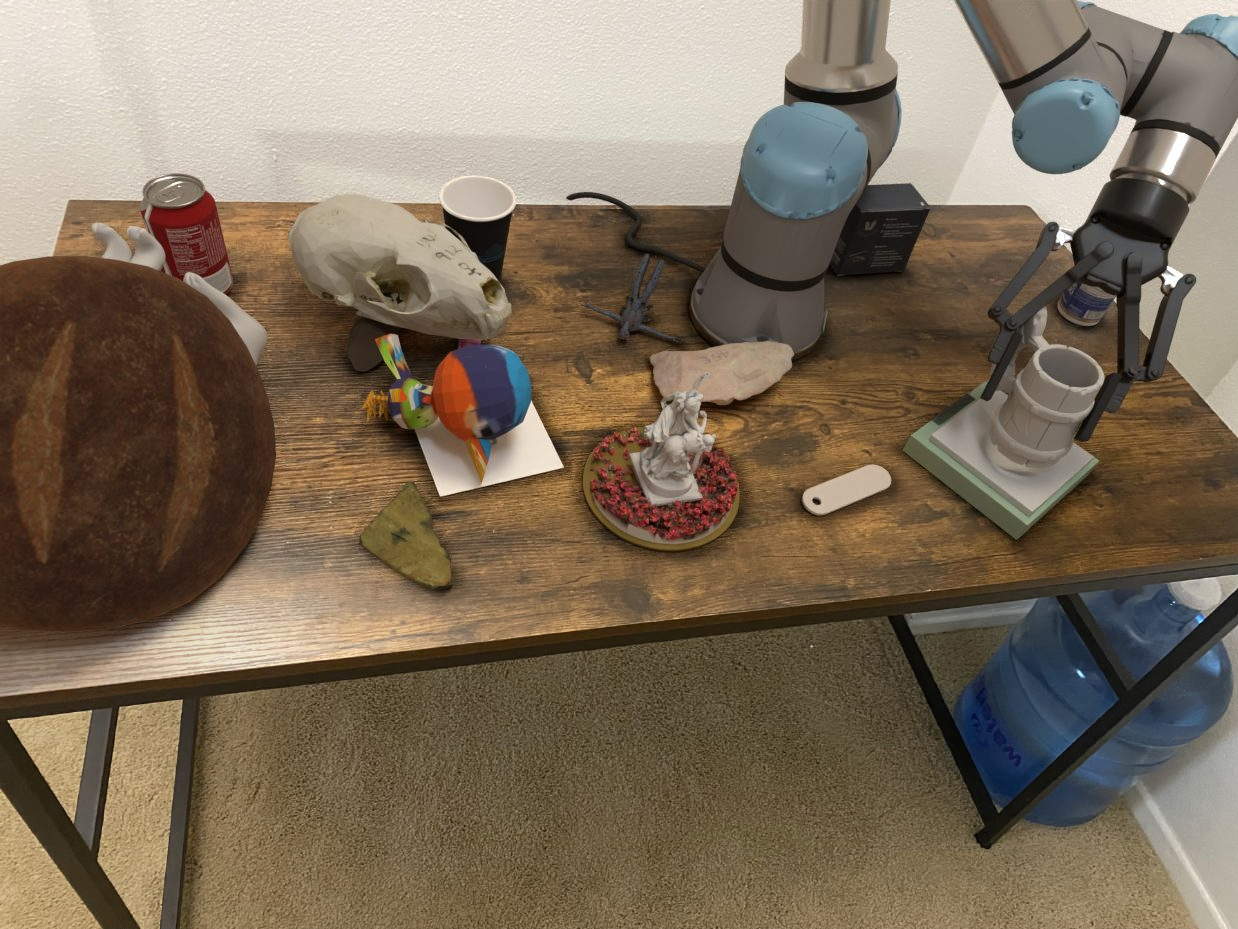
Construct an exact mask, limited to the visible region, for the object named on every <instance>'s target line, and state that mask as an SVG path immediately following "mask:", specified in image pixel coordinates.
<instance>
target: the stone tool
mask: <svg viewBox="0 0 1238 929" xmlns="http://www.w3.org/2000/svg"><path fill="white" fill-rule="evenodd" d="M793 356H794V352H793V351H792V348H791V347H790V346H789V345H787V344H782V343H777V342H770V341H765V342H755V343H754V342H751V343H750V342H744V343H732V344H725V345H721V346H717V347H715V346H713V347H708V348H705V349H701V350H673V351H671V350H663V351H661V352H658V353H653V354H651V356H650V357H649V362H650V364H651V366H653V370H652V374H653V381H654V385H655V386H656V387H657V388H658V391H659V392H660V395H661V396H662V398H664V397H666V396H670V395H672V394H673V393H675V392H681V393H683V392H685V391H689V390H690V389H691V388H692V387H693V384H694V382H695V381H696V380H697V379H698V378H699V377H701V375H702V374H703V373H707V372H709V373H708V376H711V377H709V378H706V379H704V378H703V379H702V381H701V383H700V385H699V387H698V389H697V390H696V391H697V392H698V393H699V394H703V399H701V401H700V402H701V403H705V402H706V403H707V402H709V403H712V404H716V405H717V406H726V405H730V404H731V403H732V402H733V401H734V400H737V401H744V400H748V399H749V398H751V397H752V396H756V395H759V394H762V393H764V392H765V391H767V390H768V389H769V388H770V387H772V386H773V385H775V384H777V383H780V381H781V378H782V377H783V376H784V375H785V374H786V373H788V372H789V371H790V370H791V369H792V367H793V363H792V361H791V358H792V357H793Z"/></svg>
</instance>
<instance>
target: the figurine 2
mask: <svg viewBox="0 0 1238 929" xmlns="http://www.w3.org/2000/svg"><path fill="white" fill-rule="evenodd" d="M655 258H657V256H655ZM650 259H651V256H650V254H649V253H646V254H644V256H643V258H642V260H641V262H640V265H639V267H638V269H637V272H636V274H635V276H634V278H633V281H632V284H631V285H632V286H631V295H630V296H629V295H626V296H624V300H625V302H626V307H625V306H621V307H620V310H621V314H622V315H619V314H616V313H614V312H610V311H607V310H605V309H602V308H598V307H595V306H592V305H591V304H590V303H588V302H587V301H585V304H584V303H579V305H580V306H582V307H585V308H587V309H590V310H591V309H592V310H593V311H595V312H596V313H598V314H601V315H604V316H606V317H608V318H611V319H612V320H614V321H616V322H618V323H619V324H620V326H621V328H620V330H619V331H618V333H617V336H618V338H620V339H621V340H628V339H629V338H630V332H635V331H642V332H646V333H649V334H653V335H655V336H657V337H661V338H665V339H669V340H670V341H672V342H674V343H678V344H682V342H681V341H679V340H677V339H676V338H677V336H669V335H668V334H666V333H664V332H661V331H659V330H656V329H654V328H651V327H649V326H647V325H645V324H643V323H649V322H650V321H652V317H651V316H648V315H646V316H644V313H647V312H650V311H652V310H653V309H654V305H653V304H648V305H647V303H648V301H649V299H651V296H652V295H653V294H654V292H655V291H656V289H657V286H658V282H659V280H660V277H661V274H662V272H663V267H664V265H665V259H662V258H661V259H659V260H658V261H657V263H656V265H655V267H654V269H653V270H652V273H651V275H650V277H649V279H648V281H647V283H646V285H645V287H644V289H643V290H642V293H641V295H640V292H641V288H642V285H643V282H644V279H645V275H646V272H647V269H648V266H649V264H650Z"/></svg>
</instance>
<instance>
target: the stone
mask: <svg viewBox="0 0 1238 929" xmlns="http://www.w3.org/2000/svg"><path fill="white" fill-rule="evenodd" d="M415 483H416V482H415V481H408V482H405V484H404V485H403V487H402V489H401V490H400V491H399V492H398V493H397V495H395V496H394V498H393V499H392V500H391V501H390V502H389V503H387V505H386V506H385V507H383V509H381V510H380V511H379V512H378V513H377V515H376V516H375V518H374V519H373V520H372V522H371V523H369V524H368V526H367V525H366V527H364V529H363V531H361V533H360V535H359V544H360V546H362V548H364V549H365V550H366V551H367V552H369V553H370V554H371V555H373V556H374V557H375V558H377V559H378V560H379V561H381V563H383V564H384V565H385V566H386V567H388V568H390V569H391V570H393V571H394V572H395V573H397V574H399V575H400V576H402V577H403V578H405V579H408V580H411V581H412V582H413V583H416V584H417V585H420V586H422V587H424V588H427V589H428V590H432V591H438V590H439V591H440V590H444V589H447V588H450V587H452V586H453V584H454V580H453V576H452V564H451V563H452V559H451V558H450V557H451V556H450V554H449V551H447V549H446V548H444V547H441V543H440V542H441V541H440V539H439V538H438V535H437V533H436V531H435V530H434V527H433V526H434V525H433V523H432V522H433V515H432V514H431V511H430V508H429V507H428V506H427V505H426V504H425V502H424V500H423V498H422V496H421V493H420V492H419V490H418V487H417V485H416V484H415Z"/></svg>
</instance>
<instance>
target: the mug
mask: <svg viewBox="0 0 1238 929" xmlns="http://www.w3.org/2000/svg"><path fill="white" fill-rule="evenodd" d="M1047 321H1048V308H1047V306H1045V307H1043V308H1042V309H1041V310H1040V311H1038V312H1037V313H1036V314H1035V315H1033V316H1032V317H1031V318H1030V319H1029V320H1027V321H1026V322H1025V323H1024V324H1023V325H1021V326H1020V327H1019V328H1018V329H1017V330H1016V332H1017V333H1020V334H1022V335H1023V337H1022V339H1021V341H1020V343H1019V345H1018V347H1017V349H1016V351H1015V353H1014V355H1013V357H1012V359H1011V361H1010V363H1009V365H1008V367H1007V369H1006V371H1005V373H1004V375H1003V377H1002V379H1001V381H1000V383H999V385H998V387H997V389H996V391H999V390H1001V391H1002V392H1004V393H1007V394H1009V395H1008V398H1007V399H1006V401H1005V403H1003V404H1001V405H1000V406H999V407H998V408H997V409H996V410H995V412H994V414H993V416H992V418H991V427H990V431H989V435H990V439H991V442H992V444H993V445H997V447H998V451H999V452H1000V453H1001V454H1002V455H1004V456H1005V457H1007V458H1008V459H1009V460H1011V461H1013V462H1015V463H1017V464H1020V465H1023V464H1025V463H1026V467H1030V468H1046V467H1049V466H1052V465H1054V464H1056V463H1057V462H1058V461H1059V460H1060V458H1062V457H1064V456H1065V455H1066V454H1067V453H1068V452H1069V451H1070V449H1071V447H1072V445H1073V442H1074V443H1075V439H1074V437H1075V435H1076V433H1077V431H1078V429H1079V427H1080V426H1081V424H1082V422H1083V420H1084V418H1086V417H1087V416H1088V415H1089V413H1090V412H1091V410H1092V408H1093V406H1094V403H1095V400H1094V399H1095V397H1096V395H1097V393H1098V392H1099V390H1100V388H1101V386H1102V384H1103V382H1104V379H1105V372H1104V370H1103V368H1102V367H1101V365H1100V364H1098V361H1097V360H1095V359H1094V358H1093V357H1091V356H1090V355H1089V354H1088V353H1086V352H1084V351H1082V350H1081V349H1078V348H1076V347H1072V346H1068V347H1067V345H1064V344H1058V343H1056V344H1049V342H1048V341H1047V340H1046V339H1045V338H1044V336H1043V334H1044V332H1045V329H1046V327H1047ZM1028 346H1029V347H1030V348H1031V349H1032V351H1034V353H1033V355H1032V357H1031V358H1030V359H1029V361H1028V362H1027V365H1026V366H1025V367H1024V368H1023V369H1021V370H1020V371H1019V373H1018V374H1017V375H1016V363H1015V361H1016V359H1017V358H1018V356H1019V354H1020V352H1021V350H1022V349H1023V348H1026V347H1028ZM995 367H996V365H995V364H993V363H991V367H990V372H989V376H990V377H991V375H992V373H993V371H994V369H995ZM1015 376H1016V377H1015Z"/></svg>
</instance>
